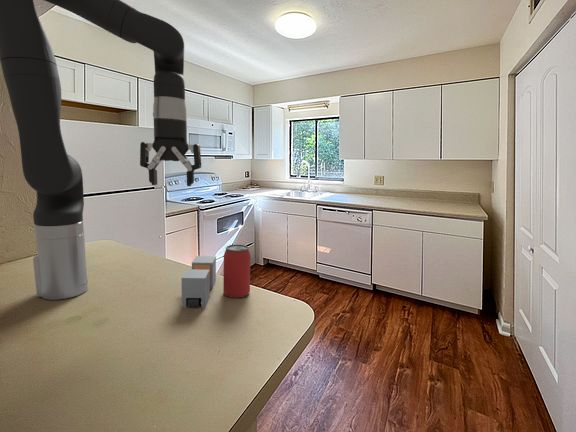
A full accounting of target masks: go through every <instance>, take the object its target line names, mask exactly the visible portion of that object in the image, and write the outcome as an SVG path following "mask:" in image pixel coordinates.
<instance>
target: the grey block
mask: <svg viewBox="0 0 576 432" xmlns="http://www.w3.org/2000/svg"><path fill="white" fill-rule="evenodd" d="M210 291H211V289H210V270H198V269H192V268H191V269H189V268H187V269H186V271H185V272H184V273H183V275H182V276H181V308H183V309H184V308H188V298H201V304H200V306H201V308H202V309H203V308H205V309H206V308H207V305H208V302H209V299H210V293H211V292H210Z"/></svg>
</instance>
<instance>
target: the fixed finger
mask: <svg viewBox="0 0 576 432" xmlns="http://www.w3.org/2000/svg"><path fill="white" fill-rule="evenodd" d="M216 257H217V256H216V255H196V256H195V257H194V259H193V260H192V261H191V269H198V270H210V290H211V289H214V286H215V284H216V281H217V258H216Z"/></svg>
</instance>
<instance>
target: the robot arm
mask: <svg viewBox="0 0 576 432" xmlns="http://www.w3.org/2000/svg"><path fill="white" fill-rule="evenodd" d="M43 2H47V3H50V4H52V5H55V6H57V7H59V8H62V9H64V10H66V11H68V12H70V13H73V14H75V15H76V16H78V17H81V18H82V19H83V20H86V21H88V22H90V23H92V24H93V25H95V26H97V27H99V28H101V29H103V30H105V31H107V32H108V33H110V34H112V35H114V36H115V37H118V38H120V39H122V40H123V41H125V42H128V43H130V44H139V45H141V46H143V47H145V48H147V49H149V50H150V51H153V60H154V76H153V107H152V108H153V109H152V110H153V111H152V117H153V138H154V140H153V143H151V142H150V143H149V142H148V141H147V142H146V141H141V142H140V146H139V147H140V148H139V151H140V152H139V156H140V158H139V166H140V167H142V168H146V169H147V170H148V181H149V183H151V186H158V169H157V167H158V166H159V165H160V164H161V162H162V161H164V162H168V161H169V162H171V161H172V162H179V161H180V163H181V164H182V165H183V166H184V167H185V169H186V170H187V171H186V186H187V187H192V185H193V184H194V181H195V171H196V170H199V169H201V168H202V157H201V156H202V154H201V153H202V152H201V146H200V144H197V143H195V144H188V138H187V137H188V136H187V132H188V130H187V128H188V127H187V107H186V86H185V83H186V82H185V79H184V67H185V64H184V63H185V40H184V37H183V35H182V33H181V32H180V30H178V29H177V28H176V27H175V26H173V25H172V24H170V23H169V22H167V21H166V20H165V21H164V20H163V19H160V18H158V17H155V16H153V15H150V14H147V13H144V12H141V11H140V10H138V9H136V8H134V7H132V6H131V5H129V4H127V3H126V2H124V1H122V0H43ZM0 66H1V70H2V74H3V78H4V81H5V85H6V87H7V92H8V95H9V96H8V97H9V100H10V104H11V108H12V112H13V116H14V118H15V123H16V126H17V131H18V138H19V148H20V156H21V165H22V167H21V168H22V173H23V176H24V180H25V181H26V183H27V184H28V185H29V187H31V189H33V190H34V191H35V192H36V198H37V199H36V205H35V208H34V210H33V215H32V217H33V226H34V234H35V236H34V237H35V243H36V244H35V245H36V255H35V256H34V257H32V262H33V272H34V281H35V291H36V297H38V298H43V299H45V300H51V301H53V300H64V299H70V298H73V297H77V296H80V295H81V294H84V293H85V292H87V291H88V289H89V287H88V286H89V285H88V284H89V283H88V282H89V281H88V271H87V269H88V267H87V255H86V243H85V231H84V217H83V216H84V213H83V212H84V208H85V207H84V206H85V205H84V204H85V202H84V201H85V198H84V179H83V171H82V167H81V165H80V164H79V162H78V161H77V160H76V159H75V158H74V157H73V156H72V155H70V154H68V152H67V150H66V147H65V142H64V139H63V135H62V130H61V113H62V112H61V111H62V87H61V81H60V76H59V70H58V69H59V68H58V66H57V61H56V57H55V53H54V51H53V49H52V45H51V42H50V40H49V38H48V36H47V34H46V31H45V29H44V26H43V24H42V22H41V19H40V18H39V15H38V11H37V9H36V6H35V3H34V0H0ZM152 149H153V150H154V152H155V153H156V154H155V155H154V156H153V157H152V159H151V161H150V152H151V151H152ZM189 150H190V152H191V154H193V163H194V164H192V163H191V161H190V159H189V158H188V157H187V155H186V154H187V152H188V151H189ZM149 161H150V162H149Z"/></svg>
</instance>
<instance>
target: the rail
mask: <svg viewBox="0 0 576 432" xmlns="http://www.w3.org/2000/svg"><path fill="white" fill-rule="evenodd" d="M200 306H201V298H188V305H187V308H188V309H192V308H193V309H195V308H196V309H200Z"/></svg>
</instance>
